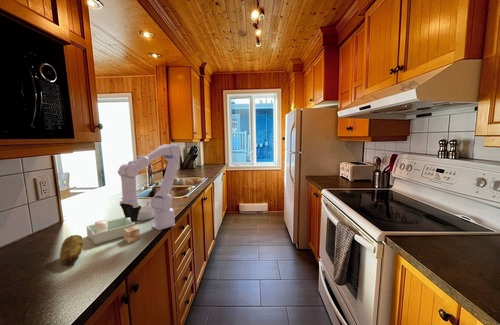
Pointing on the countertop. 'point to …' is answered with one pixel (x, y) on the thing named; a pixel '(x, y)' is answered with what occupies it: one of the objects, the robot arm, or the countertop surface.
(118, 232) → the tote
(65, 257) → the potato
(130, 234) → the maple cube
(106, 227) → the pale pink egg
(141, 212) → the saucepan
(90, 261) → the countertop surface
